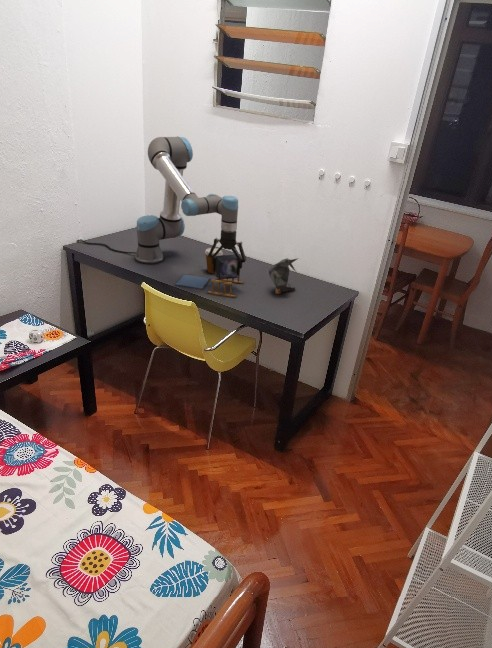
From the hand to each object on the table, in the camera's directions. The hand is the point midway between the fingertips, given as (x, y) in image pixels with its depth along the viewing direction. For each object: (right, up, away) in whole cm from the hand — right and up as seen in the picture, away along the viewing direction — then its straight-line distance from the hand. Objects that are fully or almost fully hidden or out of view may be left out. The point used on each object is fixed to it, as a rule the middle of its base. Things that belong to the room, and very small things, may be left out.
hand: (226, 272), depth 231 cm
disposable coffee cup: (-10, +5, +21) cm, 24 cm away
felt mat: (-18, -4, +7) cm, 20 cm away
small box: (0, -2, +2) cm, 3 cm away
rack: (-1, -7, +5) cm, 9 cm away
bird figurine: (+28, -8, +8) cm, 30 cm away
